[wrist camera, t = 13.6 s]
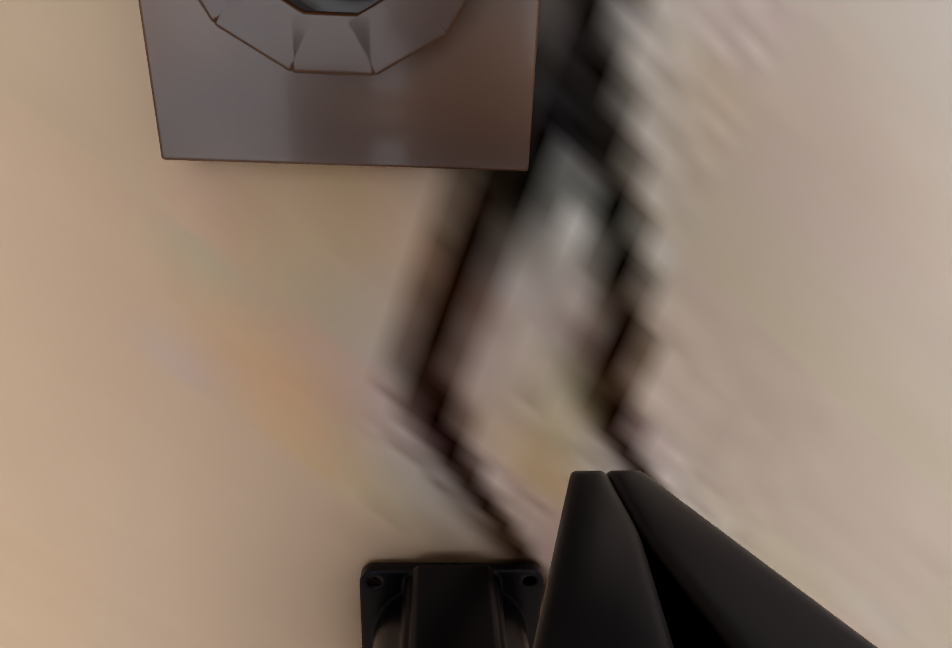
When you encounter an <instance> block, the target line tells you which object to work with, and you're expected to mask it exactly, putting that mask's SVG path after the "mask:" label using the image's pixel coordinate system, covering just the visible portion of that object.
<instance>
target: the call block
mask: <svg viewBox="0 0 952 648" xmlns="http://www.w3.org/2000/svg"><path fill="white" fill-rule="evenodd" d="M139 7H140V14H141V20H142V27H143V34H144V41H145V48H146V54H147V61H148V68H149V75H150V81H151V88H152V95H153V102H154V108H155V115H156V122H157V129H158V135H159V142H160V149H161V156H162V158H163V159H165V160H189V161H221V162H253V163H285V164H317V165H348V166H380V167H412V168H444V169H476V170H508V171H526V170H528V165H529V151H530V137H531V123H532V110H533V96H534V82H535V68H536V54H537V40H538V27H539V13H540V0H139Z"/></svg>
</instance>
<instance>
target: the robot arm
mask: <svg viewBox="0 0 952 648" xmlns="http://www.w3.org/2000/svg"><path fill="white" fill-rule="evenodd" d="M527 576H533V577H531V578H525V577H527ZM371 577H378V578H379V579H371ZM542 588H543V576H542V571H541V568H540V567H539V565H537V564H535V563H530V562H506V563H373V564H368V565H367V566H365V567H364V568H363V569H362V572H361V578H360V599H361V625H362V648H877V647H876V646H875V645H873V644H872V643H871V642H869V641H868V640H867V639H865V638H864V637H862V636H861V635H860V634H858V633H857V632H856V631H854V630H853V629H852V628H850V627H849V626H848V625H846V624H845V623H844V622H842V621H841V620H840V619H838V618H837V617H836V616H834V615H833V614H832V613H830V612H829V611H828V610H826V609H825V608H824V607H822V606H821V605H820V604H818V603H817V602H816V601H814V600H813V599H812V598H810V597H809V596H808V595H806V594H805V593H804V592H802V591H801V590H800V589H798V588H797V587H796V586H794V585H793V584H792V583H790V582H789V581H788V580H786V579H785V578H784V577H782V576H781V575H780V574H778V573H777V572H776V571H774V570H773V569H772V568H770V567H769V566H768V565H766V564H765V563H764V562H762V561H761V560H760V559H758V558H757V557H755V556H754V555H753V554H751V553H750V552H749V551H747V550H746V549H745V548H743V547H742V546H741V545H739V544H738V543H737V542H735V541H734V540H733V539H731V538H730V537H729V536H727V535H726V534H725V533H723V532H722V531H721V530H719V529H718V528H717V527H715V526H714V525H713V524H711V523H710V522H709V521H707V520H706V519H705V518H703V517H702V516H701V515H699V514H698V513H697V512H695V511H694V510H693V509H691V508H690V507H689V506H687V505H686V504H685V503H683V502H682V501H681V500H679V499H678V498H677V497H675V496H674V495H673V494H671V493H670V492H669V491H667V490H666V489H665V488H663V487H662V486H661V485H659V484H658V483H657V482H655V481H654V480H653V479H651V478H650V477H648V476H647V475H646V474H644V473H643V472H641V471H637V470H629V471H609V472H608V473H607V474H606V473H604V472H602V471H574V472H572V473H571V475H570V479H569V483H568V488H567V492H566V497H565V502H564V506H563V511H562V515H561V520H560V525H559V529H558V534H557V538H556V543H555V547H554V552H553V557H552V561H551V566H550V570H549V575H548V580H547V584H546V589H545V593H544V598H543V603H542V607H541V597H542ZM540 607H541V612H540Z"/></svg>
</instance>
